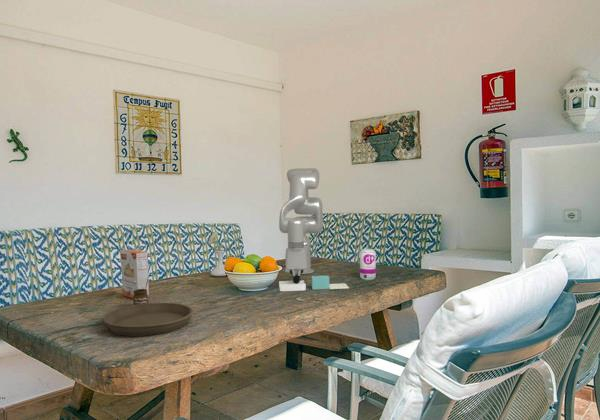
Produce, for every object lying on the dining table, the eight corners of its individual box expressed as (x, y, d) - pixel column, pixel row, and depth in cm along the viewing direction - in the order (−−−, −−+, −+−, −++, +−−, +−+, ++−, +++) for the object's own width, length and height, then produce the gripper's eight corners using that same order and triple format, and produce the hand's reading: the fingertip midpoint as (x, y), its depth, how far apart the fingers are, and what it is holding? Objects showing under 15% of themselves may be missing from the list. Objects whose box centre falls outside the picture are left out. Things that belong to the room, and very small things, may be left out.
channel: (279, 287, 233) (279, 281, 233) (303, 286, 234) (303, 280, 234) (280, 291, 224) (279, 284, 224) (305, 290, 225) (305, 283, 225)
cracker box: (121, 296, 219) (120, 250, 218) (134, 293, 224) (132, 249, 223) (137, 300, 210) (135, 252, 209) (149, 298, 214) (148, 251, 213)
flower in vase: (220, 273, 274) (219, 229, 273) (235, 275, 268) (234, 230, 266) (203, 277, 264) (202, 231, 262) (218, 279, 257) (217, 232, 256)
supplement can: (376, 279, 247) (376, 250, 247) (360, 280, 248) (360, 251, 247) (374, 276, 256) (374, 248, 255) (359, 277, 256) (358, 248, 255)
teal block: (311, 287, 232) (311, 276, 232) (327, 286, 233) (327, 275, 233) (312, 289, 227) (312, 277, 227) (329, 289, 228) (329, 277, 228)
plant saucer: (193, 334, 161) (193, 321, 160) (94, 342, 154) (93, 328, 154) (193, 311, 191) (193, 300, 191) (110, 317, 184) (110, 305, 184)
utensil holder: (132, 306, 200) (131, 277, 199) (148, 304, 202) (147, 276, 202) (133, 309, 195) (132, 279, 194) (150, 307, 197) (149, 278, 196)
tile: (327, 285, 236) (327, 283, 236) (345, 284, 237) (345, 283, 237) (329, 289, 227) (329, 287, 227) (348, 288, 228) (348, 287, 228)
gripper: (310, 244, 233) (311, 281, 234) (279, 245, 231) (280, 282, 233) (312, 246, 225) (313, 285, 226) (280, 247, 224) (281, 286, 225)
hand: (296, 283), depth 230 cm, fingers closed
